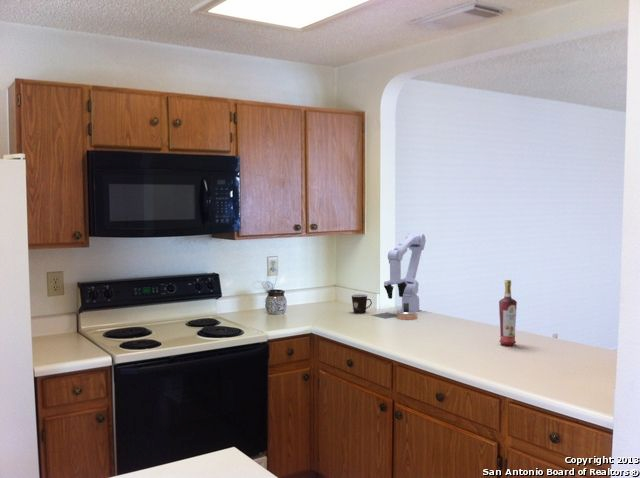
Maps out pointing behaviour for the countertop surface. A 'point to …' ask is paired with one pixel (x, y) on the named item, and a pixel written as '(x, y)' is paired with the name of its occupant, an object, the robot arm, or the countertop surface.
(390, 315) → the mat
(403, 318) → the bowl
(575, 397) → the countertop surface
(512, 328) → the liquor
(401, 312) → the lid
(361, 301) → the coffee mug
